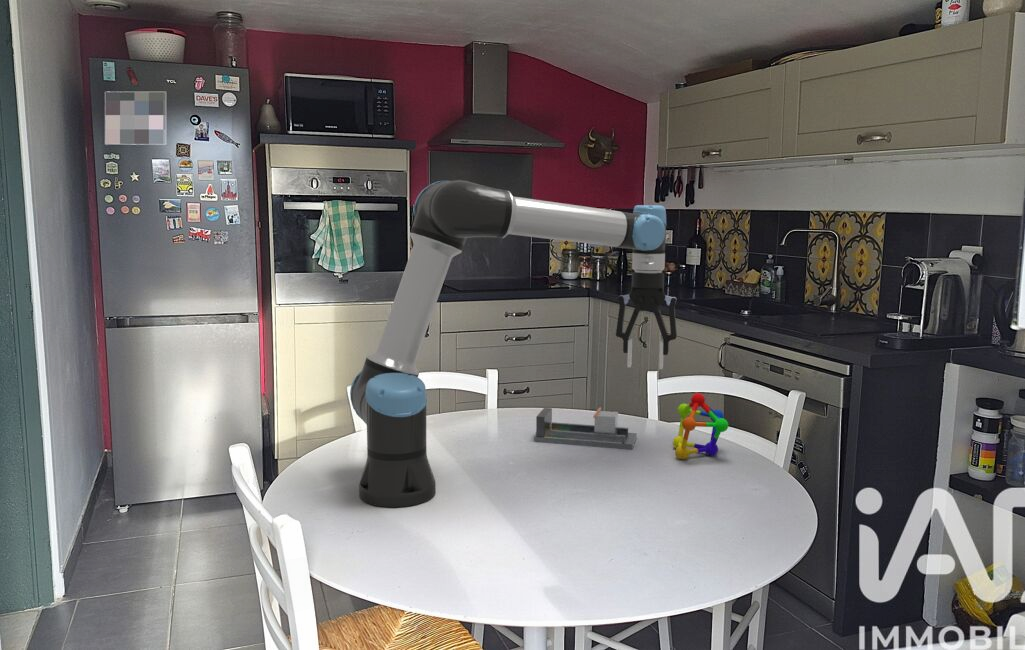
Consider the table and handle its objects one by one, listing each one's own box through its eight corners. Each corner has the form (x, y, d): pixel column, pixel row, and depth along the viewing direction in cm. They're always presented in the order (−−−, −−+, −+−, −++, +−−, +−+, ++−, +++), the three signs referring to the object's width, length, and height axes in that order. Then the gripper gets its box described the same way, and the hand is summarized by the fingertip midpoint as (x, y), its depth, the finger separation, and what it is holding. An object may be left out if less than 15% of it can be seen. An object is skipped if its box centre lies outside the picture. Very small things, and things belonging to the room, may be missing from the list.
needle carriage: (593, 438, 197) (593, 416, 196) (598, 428, 205) (599, 407, 205) (613, 440, 195) (614, 417, 195) (618, 430, 204) (619, 408, 203)
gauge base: (533, 441, 200) (534, 416, 199) (542, 430, 210) (542, 407, 209) (632, 449, 194) (633, 424, 193) (636, 437, 204) (637, 413, 203)
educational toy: (734, 467, 185) (739, 404, 181) (678, 468, 184) (682, 405, 180) (713, 441, 200) (718, 382, 196) (661, 442, 199) (665, 383, 195)
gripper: (604, 271, 191) (601, 368, 195) (690, 273, 186) (686, 372, 190) (608, 269, 198) (606, 362, 202) (691, 271, 193) (688, 366, 197)
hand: (645, 367), depth 196 cm, fingers open, 7 cm apart
